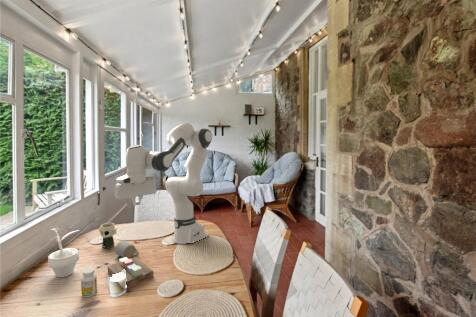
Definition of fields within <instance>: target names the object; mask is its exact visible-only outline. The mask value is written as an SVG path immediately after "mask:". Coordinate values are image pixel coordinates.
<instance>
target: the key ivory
mask: <svg viewBox="0 0 476 317" xmlns="http://www.w3.org/2000/svg"><path fill="white" fill-rule="evenodd" d="M127 259H129V258H127V257H125V258H124V257H121V258H119V259H118V262H119V264H120V265H121V266H123V261H124V260H127Z"/></svg>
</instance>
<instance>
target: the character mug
mask: <svg viewBox="0 0 476 317" xmlns="http://www.w3.org/2000/svg"><path fill="white" fill-rule="evenodd" d="M98 231H99V233H100V236H101V237H102V243H101V245H102V246H101V247H102V248H105V249H109V248H112V247H113V246H115V240H114V236H115V235H116V234H117V228H116V227H115V223H114V222H106V223H102V224H101V225H100V227H99V228H98Z"/></svg>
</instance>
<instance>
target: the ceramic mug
mask: <svg viewBox="0 0 476 317" xmlns="http://www.w3.org/2000/svg"><path fill="white" fill-rule="evenodd" d="M138 252H139V249H138V248H136V247H135V245H134V244H132V243H130V242H128V241H127V240H121V241H119V242H118V243H117V244H116V245H115V247H114V253H115V255H116V256H119V257H121V258H125V257H127V258H128V259H130V258H133V256H134V255H135V254H138Z"/></svg>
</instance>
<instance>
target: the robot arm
mask: <svg viewBox="0 0 476 317" xmlns="http://www.w3.org/2000/svg"><path fill="white" fill-rule="evenodd" d="M212 140H213V134H212V132H211V130H210V129H207V128H195V129H194V127H193V125H192V124H190V123H189V122H183V123H181V124H179V125H176V126H175V127H173V129H172V130H170V131H169V132H168V134H167V135H166V141H167V144H168V145H169V147H168V148H167V149H166V150H163V151H151V150H149V149H148V148H145V147H144V145H142V144H137V145H136V144H135V145H131V146H129V147H128V148H127V150H126V153H125V154H126V156H125V157H126V158H125V161H126V162H125V163H126V164H125V165H126V167H127V169H126V174H124V175H122V176H119V177H117V178H116V179H115V181H116V184H115V187H114V198H116V199H117V200H124V199H131V200H132V203H133V206H140V205H141V204H142V203H141V202H142V199H143V196H150V195H154V194H156V193H157V190H158V189H157V178H156V176H153V175H151V176H147V174H146V171H147V170H151V171H157V172H167V171H169V169H170V168H171V167H172V165H173V162H174V161H175V160H176V158H177V157H178V156H179V155H180V154H181V152H182V151H183V150H184V149H185V147H191V152H190V153H189V154H188V157H187V158H186V160H185V163H184V165H183V170H184V171H185V173H186V175H185V176H184V177H183V176H172V177H171V176H170V177H168V178H167V180H166V181H165V183H164V184H165V186H164V187H165V190H166V191H167V192H168V194H169V195H170V196H171V199H172V201H173V205H174V220H173V221H174V231H173V232H174V233H173V238H172V242H173V243H175V244H179V245H187V244H186V243H194V242H196V241H198V242H200V241H202V240H204V239H206V238H208V237H209V233H208V232H207V231H205V228H204V226H203V225H202V224H201V223H199V222H197V221H199V219H200V217H199V216H194V204H193V202H192V201H191V200H190V199H189V198H188V197H198V196H200V195H201V194H203V191H204V183H203V181H202V180H201V172H202V170H203V167H204V165H205V162H206V159H207V155H208V149H207V148H208V147H210V144H211V142H212ZM136 197H137V198H138V199H137V200H135V199H136ZM207 236H208V237H207ZM205 237H206V238H205ZM203 238H204V239H203ZM201 239H202V240H201ZM199 240H200V241H199ZM193 241H194V242H193ZM196 243H197V242H196ZM194 244H195V243H194Z"/></svg>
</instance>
